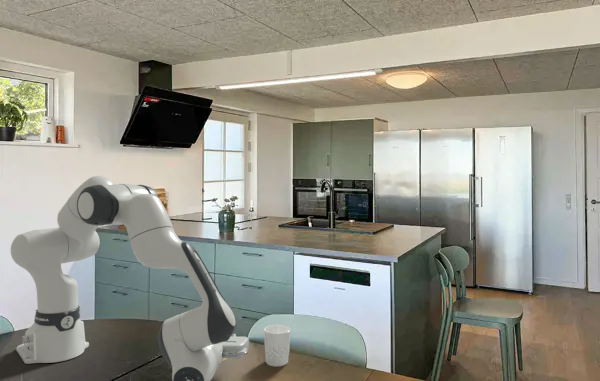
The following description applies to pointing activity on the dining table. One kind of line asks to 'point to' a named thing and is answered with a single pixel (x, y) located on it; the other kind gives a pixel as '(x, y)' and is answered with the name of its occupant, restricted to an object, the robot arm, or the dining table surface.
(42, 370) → the dining table surface
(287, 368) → the dining table surface
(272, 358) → the white cup
